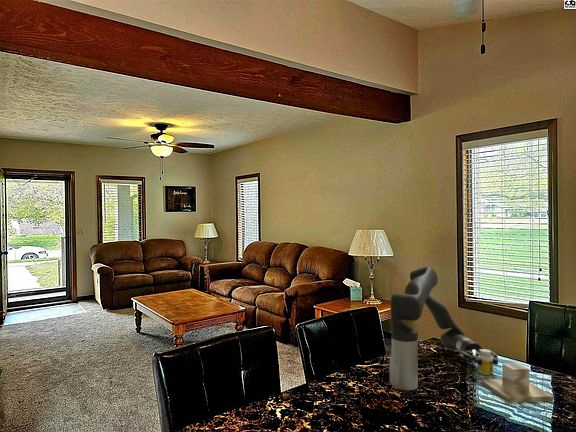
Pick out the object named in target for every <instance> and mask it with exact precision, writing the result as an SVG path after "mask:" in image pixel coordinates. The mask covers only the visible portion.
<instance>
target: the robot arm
mask: <svg viewBox="0 0 576 432" xmlns="http://www.w3.org/2000/svg"><path fill="white" fill-rule="evenodd" d="M409 278H410V281H409V282H408V284H407V285H406V286H405V289H404V293H393V294H392V295H391V298H390V321H391V322H390V324H391V325H390V326H391V328H390V329H391V356H389V383H390V385H391V387H393V388H394V390H401V391H413V390H417V389H418V387H419V383H418V382H419V375H418V374H419V372H418V371H419V369H418V368H419V365H418V363H419V362H418V361H419V359H418V358H419V357H418V355H419V351H418V350H419V347H418V346H419V345H418V344H419V340H418V339H419V337H418V336H419V334H418V331H417V330H416V329H414V328H412V327H410V326H408V325H407V324H406V323H404V321H410V322H414V321H418V320H419V319H421V316H422V314H423V309H424V306H425V305H426V307H427V308H428V310H429V311H430V313H431V316H432V317H433V319H434V321H435V323H436V325H437V327H438V328H439V329H441V330H447V331H444V332H443V333H442V334H441V335H440V342H441V343H442V345H443V346H444V347H445V348H446V349H449V350H452V351H453V350H454V351H457V352H458V353H459V357H460V359H462V360H465V362H468V363H471V362H473V363H476V364H477V365H478V364H479V365H482V359H480V358H479V357H478V356H479V355H481V354H480V350H481V349H483V348H482V346H481V345H480V344H479V343H477V342H475V341H474V340H473V339H470V338H468V337H467V336H466V335H465V333H464V331H462V329H461V328H460V327H459V326H458V325H457V324H456V323H455V322H454V320H453V318H452V316H451V315H450V311H448V309H447V307H446V306H445V305H444V304H443V303H441V302H440V301H438V300H437V299H435V298H434V297H432V295H430V294H431V292H432V290H433V289H434V288H435V287H436V286H437V284H438V282H439V281H438V280H439V279H438V274H437V272H436V270H435V269H434V268H433V267H431V266H424V267H421V268H418V269H415V270H413V271H411V272H410V274H409ZM403 320H404V321H403ZM448 329H449V330H448ZM490 351H491V357H493V366H498V365H499V359H498V354H497V353H496V352H495V351H493V350H490Z"/></svg>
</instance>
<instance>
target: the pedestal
mask: <svg viewBox="0 0 576 432" xmlns="http://www.w3.org/2000/svg"><path fill="white" fill-rule="evenodd" d="M501 367H502V369H501V370H502V371H501V374H502V375H501V378H485V379H484V378H483V379H480V381H481V382H480V384H481V385H483V386H484V387H485V388H487V389H488V390H490V391H491V392H493V394H495V395H497V396H498V397H500V398H501V399H503V400H504V401H505V402H507V403H509V404H510V403H513V404H514V403H529V402H532V403H533V402H548V401H549V402H551V401H552V402H553V401H554V395H552V394H550V393H549V392H547V391H545V390H544V389H542V388H540V387H538V386H537V385H535V384H534V383H531V382H530V368H528V367H527V366H524V365H523V364H521V363H520V362H509V363H507V362H505V363H502V364H501Z"/></svg>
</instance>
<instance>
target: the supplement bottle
mask: <svg viewBox="0 0 576 432" xmlns="http://www.w3.org/2000/svg"><path fill="white" fill-rule="evenodd" d="M491 351H492V350H490V349H488V348H487V349H485V348H482V349H481V350H480V354H481V355H479V356H478V357H479V358H480V359H482V365H479V364H477V375H478V376H479V377H480V378H483V379H484V378H485V379H493V377H494V364H493V357H491Z"/></svg>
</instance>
